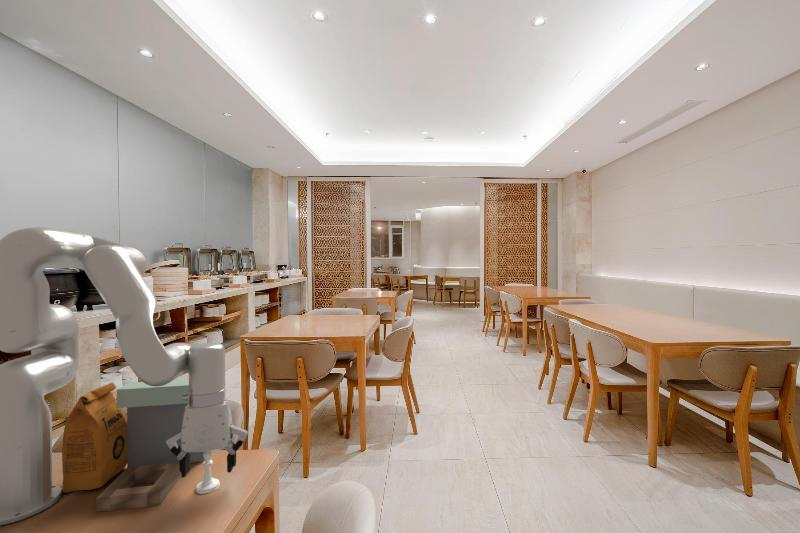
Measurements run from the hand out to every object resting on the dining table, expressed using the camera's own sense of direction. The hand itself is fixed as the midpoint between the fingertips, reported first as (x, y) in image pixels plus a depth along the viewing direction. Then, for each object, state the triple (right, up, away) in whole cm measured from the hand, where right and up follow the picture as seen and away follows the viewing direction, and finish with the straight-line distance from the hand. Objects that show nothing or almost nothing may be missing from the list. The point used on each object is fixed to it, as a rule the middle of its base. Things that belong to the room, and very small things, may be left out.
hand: (208, 471), depth 85 cm
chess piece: (0, -4, 0) cm, 4 cm away
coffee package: (-29, -4, +4) cm, 29 cm away
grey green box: (-16, -4, +8) cm, 18 cm away
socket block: (-14, -4, -1) cm, 15 cm away
